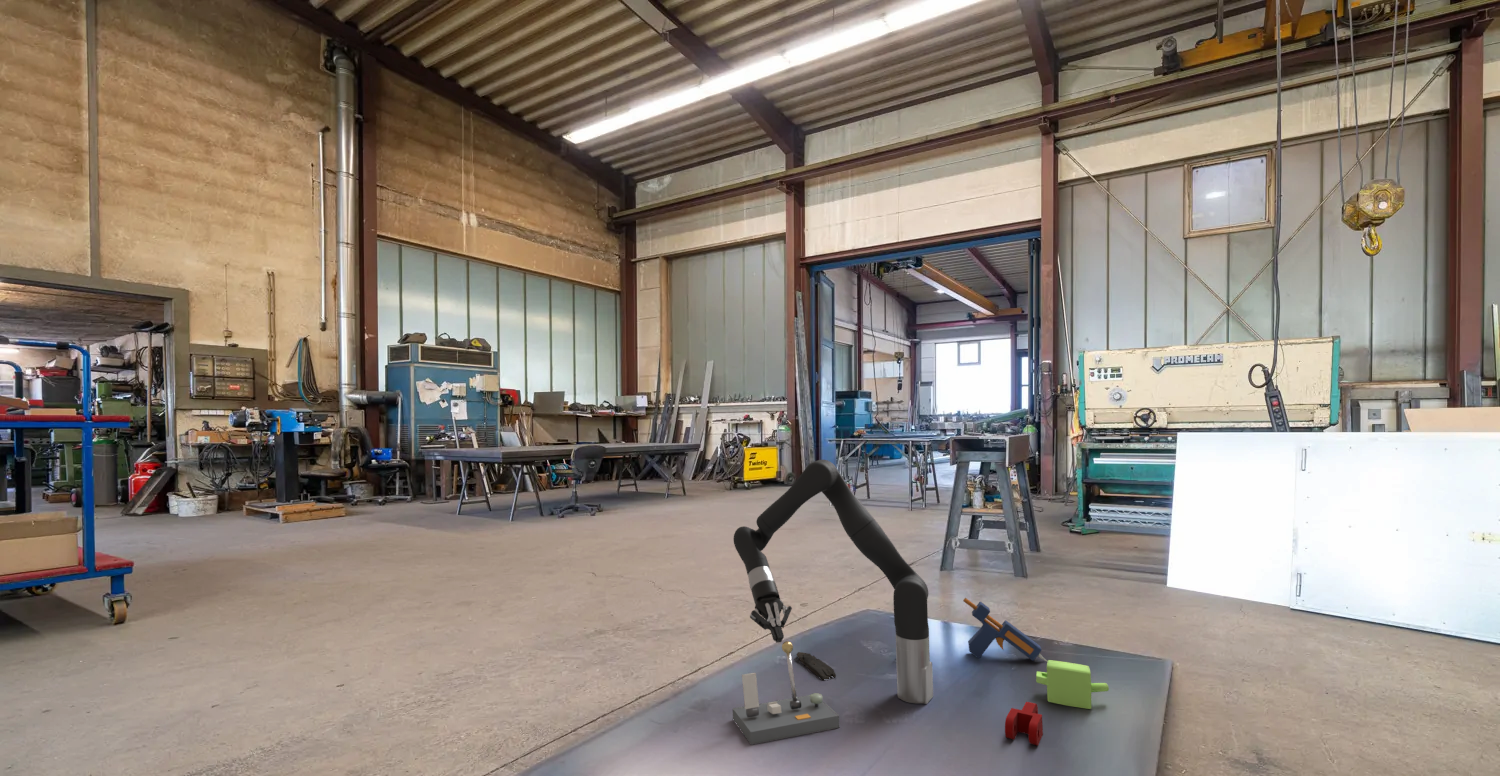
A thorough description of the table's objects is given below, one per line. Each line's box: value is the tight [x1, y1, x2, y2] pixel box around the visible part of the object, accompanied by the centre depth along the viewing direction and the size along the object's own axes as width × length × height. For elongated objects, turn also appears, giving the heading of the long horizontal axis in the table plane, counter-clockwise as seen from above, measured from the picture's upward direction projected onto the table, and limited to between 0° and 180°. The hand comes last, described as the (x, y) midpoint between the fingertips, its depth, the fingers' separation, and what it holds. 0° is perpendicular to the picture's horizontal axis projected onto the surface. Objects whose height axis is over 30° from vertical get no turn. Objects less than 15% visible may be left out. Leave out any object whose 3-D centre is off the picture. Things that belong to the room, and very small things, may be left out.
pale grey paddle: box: [741, 672, 760, 717], centre depth 163 cm, size 2×4×10 cm, turn 110°
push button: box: [809, 692, 823, 707], centre depth 168 cm, size 3×3×3 cm
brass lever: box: [781, 640, 801, 709], centre depth 169 cm, size 3×3×16 cm
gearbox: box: [1035, 659, 1110, 710], centre depth 177 cm, size 18×10×10 cm, turn 64°
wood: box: [796, 651, 837, 681], centre depth 204 cm, size 22×7×3 cm, turn 21°
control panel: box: [732, 694, 840, 745], centre depth 165 cm, size 14×24×3 cm, turn 110°
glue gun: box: [962, 597, 1048, 662], centre depth 210 cm, size 6×31×15 cm
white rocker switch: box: [767, 701, 781, 714], centre depth 164 cm, size 4×2×2 cm, turn 20°
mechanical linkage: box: [1004, 701, 1044, 746], centre depth 160 cm, size 16×7×5 cm, turn 146°
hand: (779, 641), depth 177 cm, fingers closed
